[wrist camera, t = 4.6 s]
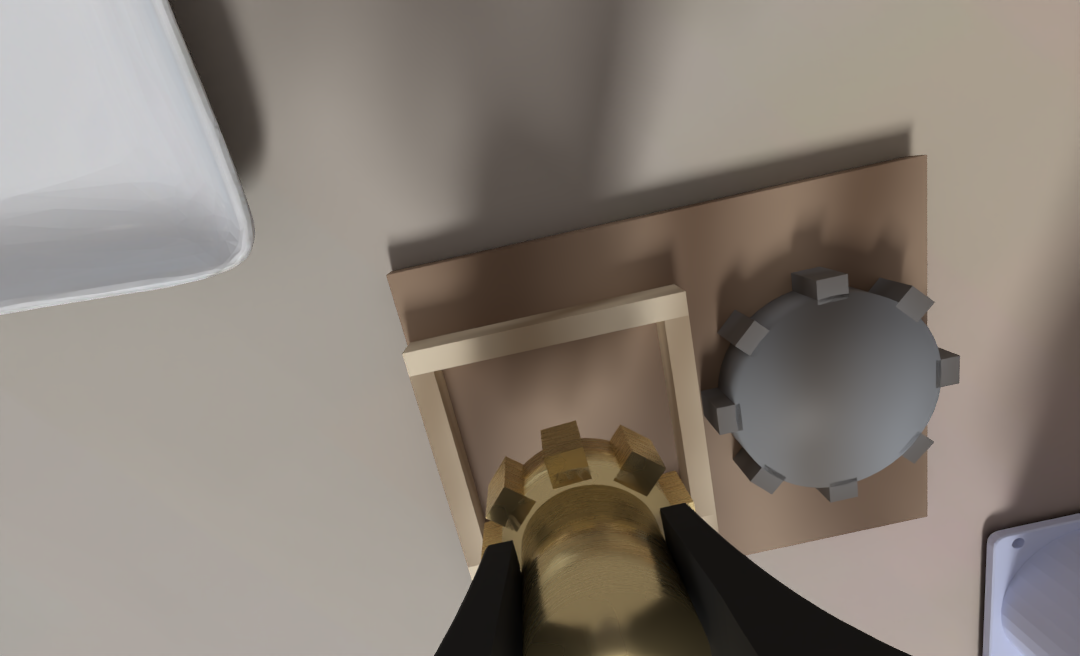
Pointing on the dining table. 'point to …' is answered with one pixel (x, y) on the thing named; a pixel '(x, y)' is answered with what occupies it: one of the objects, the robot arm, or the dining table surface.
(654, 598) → the brass gear
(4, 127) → the salad plate
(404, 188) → the dining table surface
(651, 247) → the gear board
